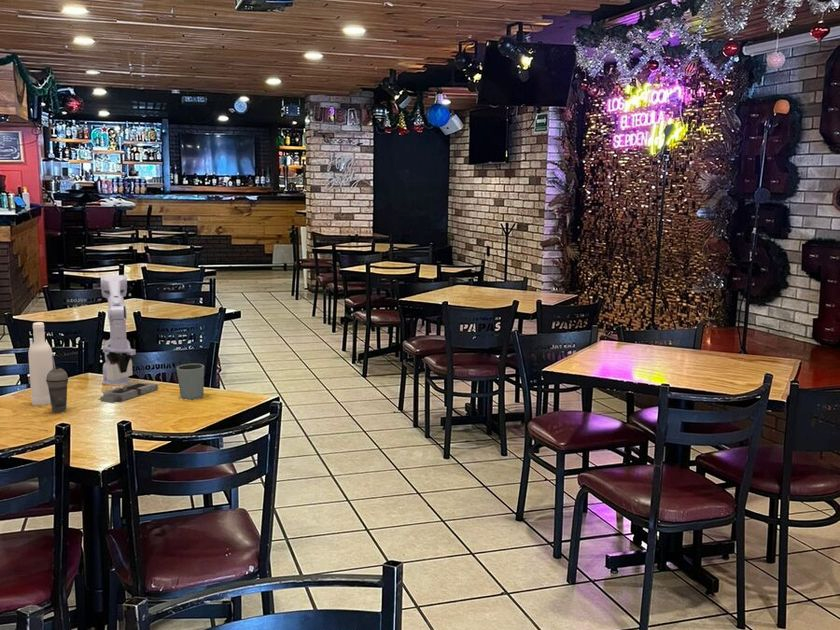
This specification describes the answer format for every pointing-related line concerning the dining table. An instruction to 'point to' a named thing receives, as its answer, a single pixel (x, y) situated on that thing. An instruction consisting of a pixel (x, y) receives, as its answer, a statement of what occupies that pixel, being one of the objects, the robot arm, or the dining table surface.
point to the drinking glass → (191, 381)
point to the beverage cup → (57, 388)
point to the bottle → (39, 366)
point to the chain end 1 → (118, 395)
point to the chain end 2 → (140, 387)
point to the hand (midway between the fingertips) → (120, 371)
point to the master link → (117, 370)
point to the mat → (135, 397)
